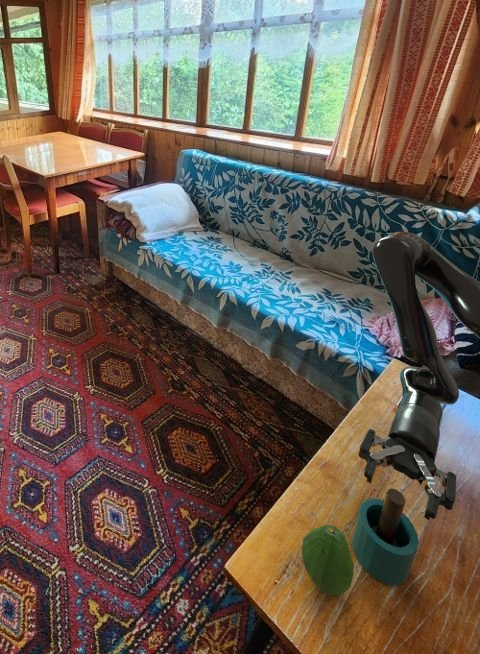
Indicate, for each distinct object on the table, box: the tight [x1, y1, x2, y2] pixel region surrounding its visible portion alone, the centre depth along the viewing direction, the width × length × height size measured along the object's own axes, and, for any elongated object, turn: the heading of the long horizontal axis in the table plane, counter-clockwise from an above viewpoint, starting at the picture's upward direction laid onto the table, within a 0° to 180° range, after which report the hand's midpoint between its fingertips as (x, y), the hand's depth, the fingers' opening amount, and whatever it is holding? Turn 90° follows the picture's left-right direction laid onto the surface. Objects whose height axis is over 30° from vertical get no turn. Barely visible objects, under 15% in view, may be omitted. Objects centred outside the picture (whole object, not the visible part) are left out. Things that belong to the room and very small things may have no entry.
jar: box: [352, 497, 420, 587], centre depth 67 cm, size 9×9×9 cm
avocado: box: [301, 524, 355, 597], centre depth 64 cm, size 8×8×12 cm
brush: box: [371, 487, 406, 547], centre depth 65 cm, size 4×4×16 cm
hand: (397, 497), depth 65 cm, fingers open, 8 cm apart
